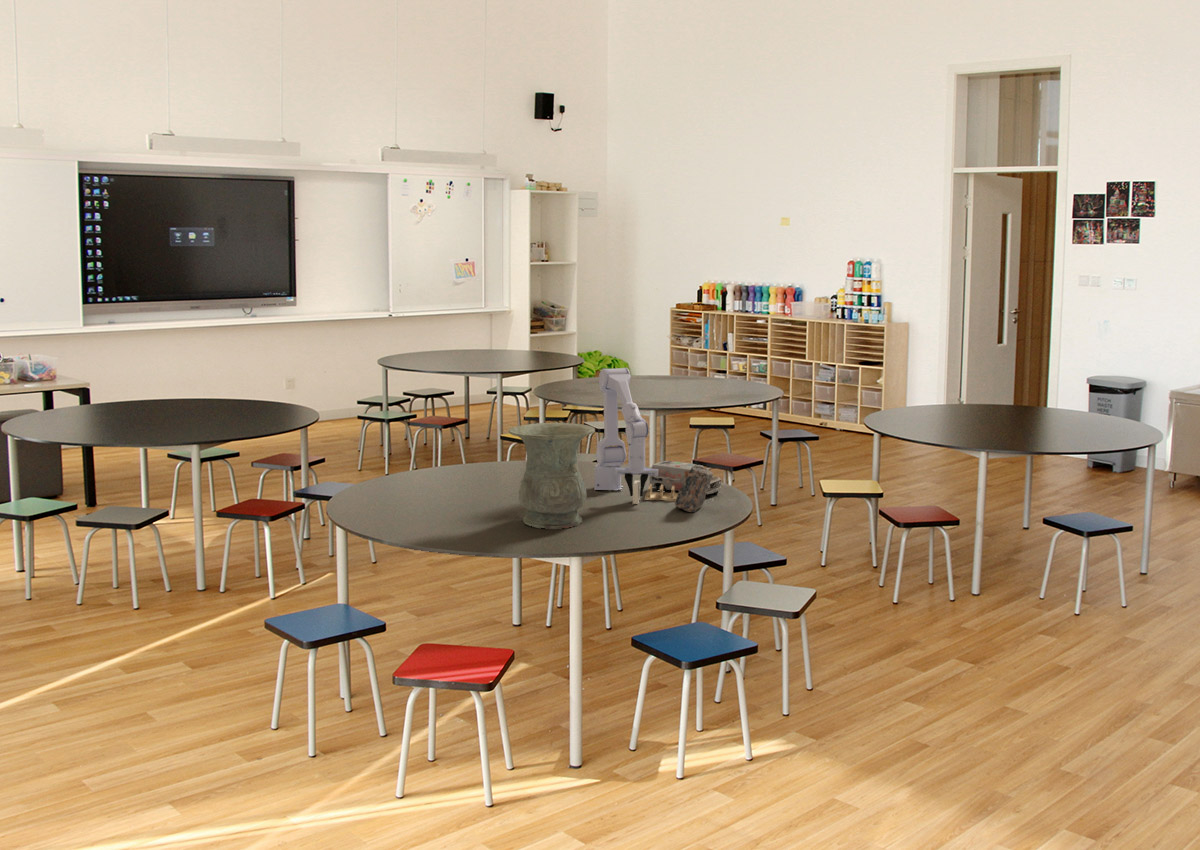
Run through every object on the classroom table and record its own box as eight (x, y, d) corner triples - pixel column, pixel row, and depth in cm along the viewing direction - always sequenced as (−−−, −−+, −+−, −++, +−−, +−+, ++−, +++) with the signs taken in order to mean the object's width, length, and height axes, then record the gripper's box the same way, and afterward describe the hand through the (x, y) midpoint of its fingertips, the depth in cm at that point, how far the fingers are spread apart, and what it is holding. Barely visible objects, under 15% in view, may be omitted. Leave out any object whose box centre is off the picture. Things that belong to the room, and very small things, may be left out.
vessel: (548, 508, 373) (548, 419, 368) (611, 520, 356) (611, 427, 352) (491, 523, 352) (490, 429, 348) (554, 537, 336) (554, 438, 331)
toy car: (707, 499, 388) (708, 471, 386) (647, 490, 402) (647, 463, 400) (722, 494, 396) (723, 466, 395) (663, 485, 410) (663, 458, 409)
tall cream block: (632, 505, 379) (632, 484, 377) (634, 500, 385) (634, 480, 384) (638, 505, 378) (638, 484, 377) (639, 500, 385) (640, 480, 384)
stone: (679, 514, 365) (680, 469, 362) (666, 505, 377) (666, 462, 375) (717, 512, 368) (718, 467, 366) (702, 503, 381) (703, 460, 378)
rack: (644, 500, 385) (644, 489, 384) (646, 494, 394) (646, 483, 393) (676, 501, 384) (676, 490, 383) (678, 495, 392) (678, 484, 392)
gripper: (614, 457, 376) (613, 497, 378) (657, 459, 375) (656, 498, 377) (616, 454, 383) (616, 493, 385) (658, 455, 381) (658, 494, 384)
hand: (636, 495), depth 381 cm, fingers open, 3 cm apart
